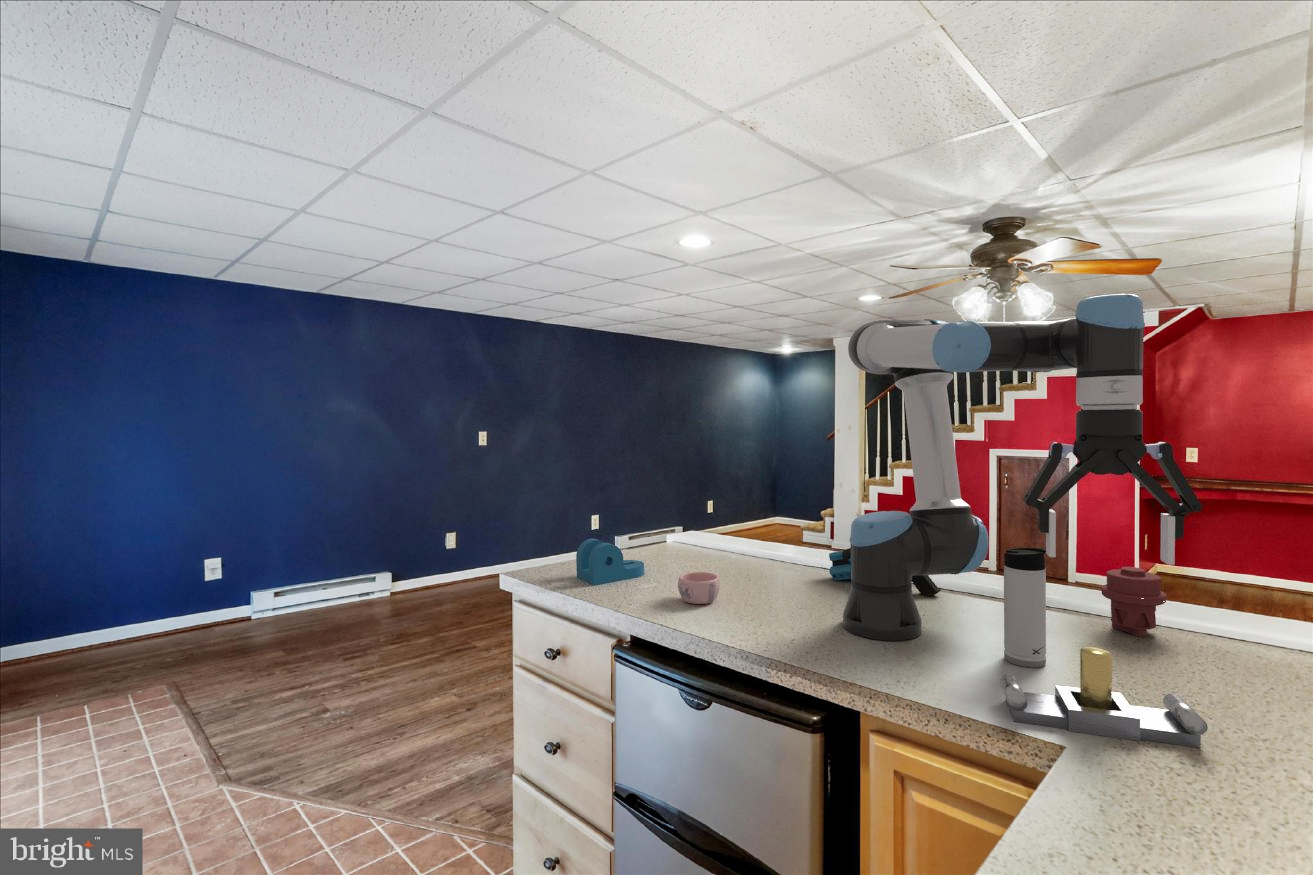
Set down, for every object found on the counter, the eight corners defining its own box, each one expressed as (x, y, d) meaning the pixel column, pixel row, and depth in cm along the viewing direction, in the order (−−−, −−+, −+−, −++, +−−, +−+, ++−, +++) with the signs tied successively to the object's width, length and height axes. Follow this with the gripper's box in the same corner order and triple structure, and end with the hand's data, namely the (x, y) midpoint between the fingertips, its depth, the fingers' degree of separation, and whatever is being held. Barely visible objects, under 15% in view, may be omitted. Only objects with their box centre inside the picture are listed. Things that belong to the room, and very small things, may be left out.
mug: (728, 601, 146) (728, 576, 146) (698, 610, 140) (698, 584, 140) (693, 591, 156) (693, 568, 155) (664, 599, 149) (663, 575, 149)
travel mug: (1048, 671, 103) (1048, 553, 103) (1003, 663, 107) (1002, 549, 106) (1048, 658, 108) (1047, 545, 108) (1005, 651, 112) (1004, 542, 111)
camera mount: (594, 586, 163) (593, 546, 162) (576, 578, 171) (575, 540, 171) (651, 575, 173) (650, 538, 172) (632, 568, 181) (631, 532, 181)
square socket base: (1008, 722, 87) (1008, 694, 86) (1000, 697, 94) (999, 672, 94) (1209, 750, 78) (1209, 720, 78) (1182, 721, 86) (1182, 693, 86)
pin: (1083, 726, 85) (1084, 654, 85) (1077, 714, 88) (1077, 645, 88) (1115, 730, 84) (1115, 658, 83) (1107, 718, 87) (1107, 648, 87)
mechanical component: (1147, 624, 125) (1178, 641, 115) (1091, 621, 127) (1117, 639, 117) (1147, 563, 124) (1178, 576, 114) (1091, 562, 126) (1117, 574, 116)
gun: (850, 599, 167) (836, 544, 169) (947, 590, 148) (929, 528, 151) (835, 605, 161) (820, 548, 164) (933, 597, 143) (915, 533, 145)
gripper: (1009, 410, 87) (1009, 558, 88) (1236, 405, 78) (1233, 572, 78) (1003, 409, 94) (1003, 547, 95) (1210, 405, 84) (1208, 559, 85)
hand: (1107, 558), depth 87 cm, fingers open, 13 cm apart
